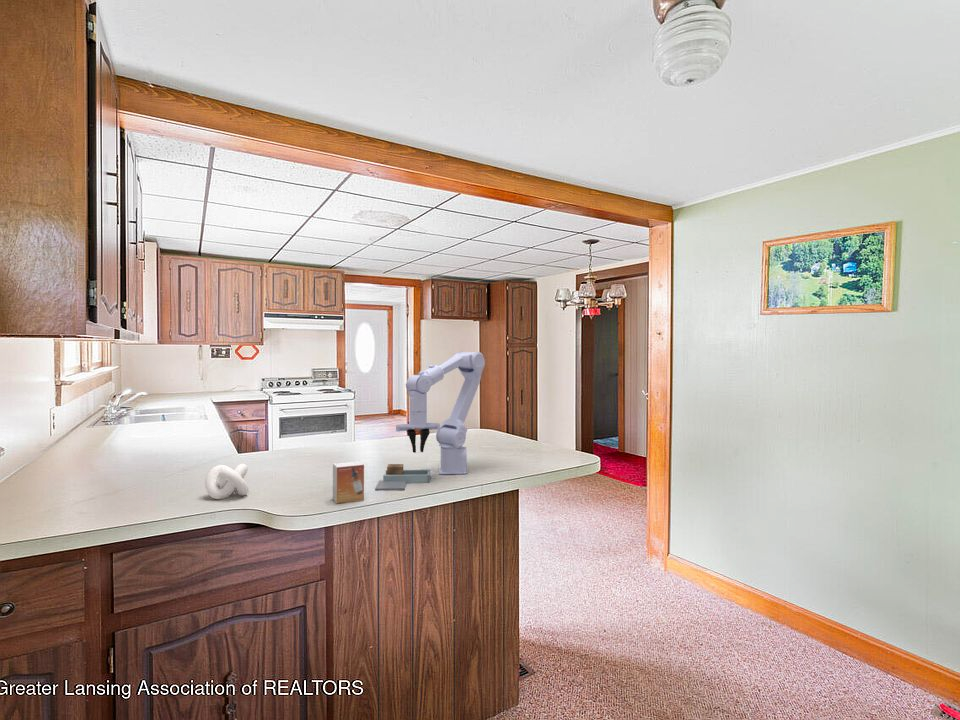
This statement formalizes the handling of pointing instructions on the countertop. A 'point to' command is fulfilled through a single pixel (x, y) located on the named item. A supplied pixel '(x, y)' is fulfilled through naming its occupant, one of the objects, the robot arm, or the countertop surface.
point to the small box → (348, 482)
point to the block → (395, 469)
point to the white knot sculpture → (226, 481)
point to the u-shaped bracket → (410, 476)
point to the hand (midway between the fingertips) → (418, 451)
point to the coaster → (391, 485)
